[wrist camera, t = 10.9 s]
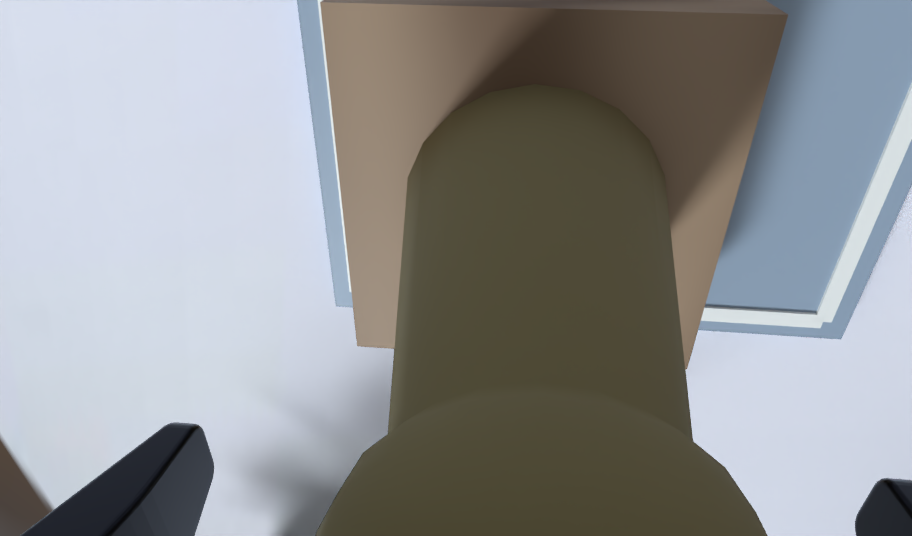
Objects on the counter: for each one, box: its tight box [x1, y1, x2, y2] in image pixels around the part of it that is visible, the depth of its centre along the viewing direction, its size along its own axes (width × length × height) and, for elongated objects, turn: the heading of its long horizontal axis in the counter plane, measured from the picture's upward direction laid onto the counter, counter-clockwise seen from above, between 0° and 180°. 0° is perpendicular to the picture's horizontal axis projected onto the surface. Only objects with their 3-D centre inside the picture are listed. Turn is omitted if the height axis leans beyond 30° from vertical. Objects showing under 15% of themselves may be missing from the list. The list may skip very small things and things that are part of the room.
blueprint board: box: [297, 0, 912, 339], centre depth 17 cm, size 16×11×1 cm
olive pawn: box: [315, 84, 767, 536], centre depth 10 cm, size 6×6×11 cm
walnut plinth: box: [320, 0, 788, 369], centre depth 16 cm, size 9×9×3 cm
